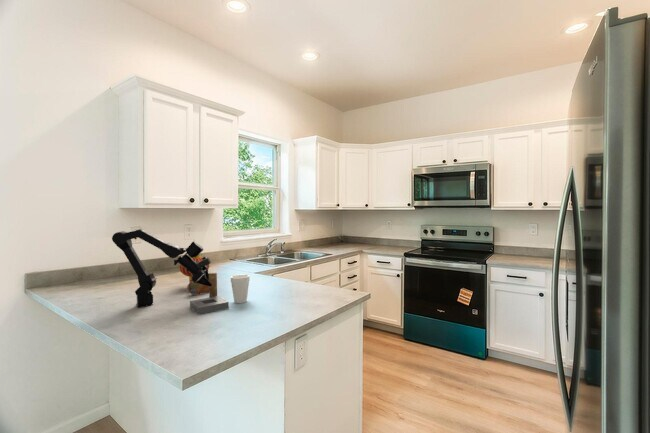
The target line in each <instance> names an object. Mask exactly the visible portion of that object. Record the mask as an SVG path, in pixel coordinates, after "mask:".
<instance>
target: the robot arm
mask: <svg viewBox="0 0 650 433" xmlns="http://www.w3.org/2000/svg"><path fill="white" fill-rule="evenodd" d="M138 238H139V239H140V240H142V241H144V242H146V243H148V244H150V245H151V246H154V247H155V248H157V249H159V250H161V251H162V252H163V254H165V255H166V256H167V257H168V258H171V259H174V260H173V263H174V264H173V266H176V265H177V264H179V266H180V265H182V266H183V267H184V268H185V269H186V271H187V272H188V271H189V272H190V273H191V274H192V276H193V277H192V281H193V282H194V283H195V282H196V281H197V280H198V281H197V282H196V283H199V284H203V285H206V286H210V287H211V286H212V284H211V283H210V282H209V273H210V272H209V269H207V268H208V267H207V266H206V265H208V264H209V265H210V264H211V263H212V262H211V259H210V258H209V257H207V256H202V257H203V258H202V260H201V261H199V262H197V261H194V260H193V259H192V258H193V257H195V258H196V257H197V256H198V255H199V254H200V255H201V253H202V252H203V251H204V248H203V246H201V245H200V244H199V243H198V242H195V240H193V241H192V242H191V243H190V244H189V245H188V246H187V247H186V248H185V247H180V246H179V245H178V244H177V245H176V244H173V243H170V242H166V241H165V240H162V239H160V238H158V237H157V236H155V235H153V234H151V233H149V232H147V231H146V230H145V229H142V228H139V229H136V230H132V231H118V232H115V233H113V234H112V237H111V241H112V242H113V243H114V244H115V245H116V247H117V248H119V249H120V250H121V251H123V255H125V257H126V259H127V260H128V262H129V264H130V266H131V267H132V269H133V271H134V272H135V274H136V275H137V281H138V285H139V287H138V288H137V289H136V290H135V291H134V293H135V295H136V304H135V305H136V307H137V308H143V307H144V308H145V307H148V306H149V307H150V306H153V305H154V294H152V293H153V292H152V290H153V288H154V287H155V286H156V284H157V278H156V276H155V274H154V272H152V271H151V272H149V271H148V270H146V267H145V266H144V264H143V262H142V261H141V258H140V257H139V256H138V254H137V252H136V250H135V248H134V247H133V241H132V240H134V239H138ZM189 256H190V257H192V258H190V257H189ZM206 269H207V270H206Z"/></svg>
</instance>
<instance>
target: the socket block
mask: <svg viewBox="0 0 650 433" xmlns="http://www.w3.org/2000/svg"><path fill="white" fill-rule="evenodd" d="M229 304H230V303H229V300H226V299H225V298H223V297H222V296H220V295H217V296H214V297H204V298H203V297H202V298H200V299H192V300H189V308H191V309H192V310H193V311H194V312H195V313H196V314H198V315H203V314H206V313H207V314H208V313H211V312H217V311H222V310H226V309H229Z"/></svg>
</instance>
